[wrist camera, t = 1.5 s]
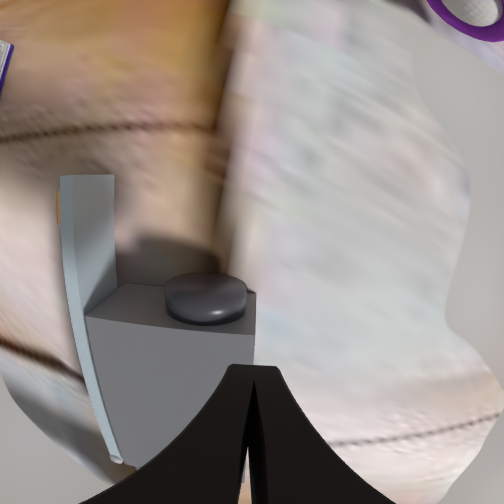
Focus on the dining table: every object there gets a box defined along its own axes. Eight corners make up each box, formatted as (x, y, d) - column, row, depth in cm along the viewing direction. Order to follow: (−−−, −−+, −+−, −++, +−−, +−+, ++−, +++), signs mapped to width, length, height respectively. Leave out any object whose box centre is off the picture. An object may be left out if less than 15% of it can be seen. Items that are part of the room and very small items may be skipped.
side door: (140, 426, 20) (123, 465, 15) (124, 423, 20) (105, 459, 15) (114, 174, 15) (73, 174, 11) (94, 175, 15) (50, 176, 11)
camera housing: (246, 432, 20) (243, 489, 14) (144, 419, 20) (122, 470, 15) (257, 273, 17) (256, 315, 12) (123, 264, 17) (75, 297, 12)
